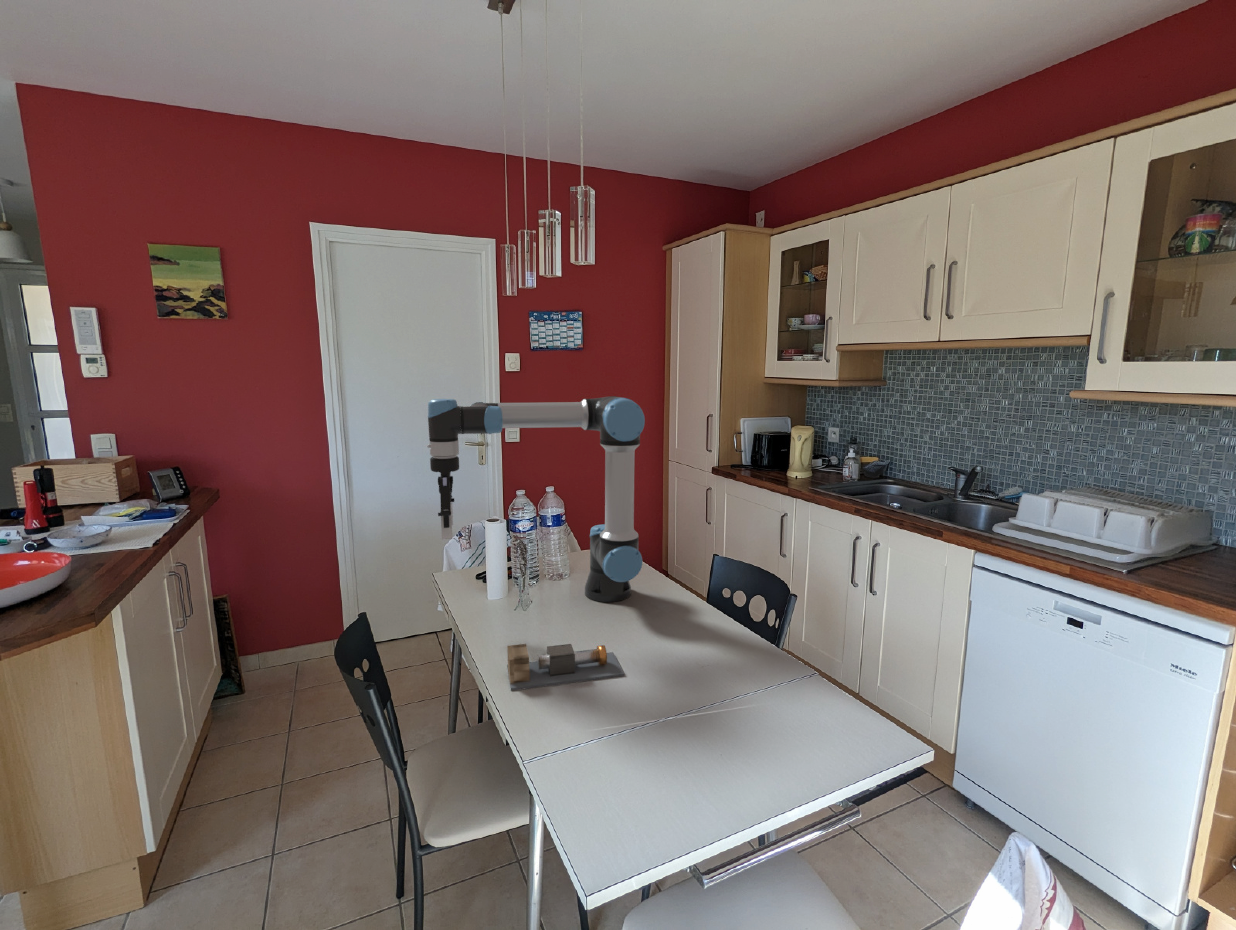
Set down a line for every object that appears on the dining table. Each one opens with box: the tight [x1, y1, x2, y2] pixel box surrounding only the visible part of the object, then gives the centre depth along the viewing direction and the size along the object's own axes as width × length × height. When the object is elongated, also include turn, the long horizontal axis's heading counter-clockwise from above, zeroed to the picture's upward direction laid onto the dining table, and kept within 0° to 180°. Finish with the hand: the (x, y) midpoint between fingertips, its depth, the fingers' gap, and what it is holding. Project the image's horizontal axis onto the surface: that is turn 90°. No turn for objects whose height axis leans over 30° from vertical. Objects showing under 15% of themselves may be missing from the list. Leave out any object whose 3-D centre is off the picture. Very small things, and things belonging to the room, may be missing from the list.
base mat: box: [506, 651, 625, 691], centre depth 143 cm, size 27×11×1 cm, turn 105°
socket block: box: [506, 643, 530, 685], centre depth 140 cm, size 4×7×6 cm, turn 15°
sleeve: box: [546, 643, 575, 677], centre depth 143 cm, size 6×5×5 cm
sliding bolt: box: [537, 644, 608, 670], centre depth 143 cm, size 16×5×5 cm, turn 105°
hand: (447, 531), depth 163 cm, fingers open, 13 cm apart
